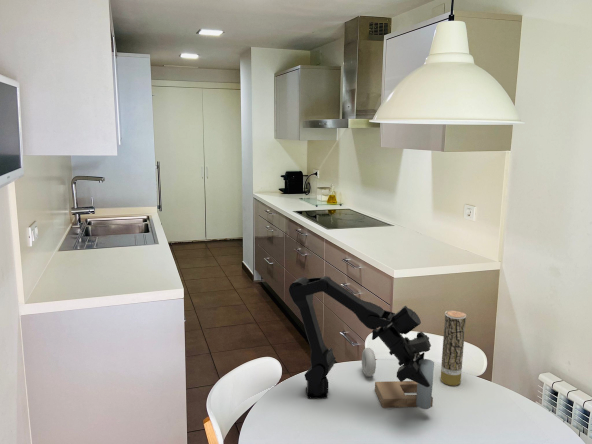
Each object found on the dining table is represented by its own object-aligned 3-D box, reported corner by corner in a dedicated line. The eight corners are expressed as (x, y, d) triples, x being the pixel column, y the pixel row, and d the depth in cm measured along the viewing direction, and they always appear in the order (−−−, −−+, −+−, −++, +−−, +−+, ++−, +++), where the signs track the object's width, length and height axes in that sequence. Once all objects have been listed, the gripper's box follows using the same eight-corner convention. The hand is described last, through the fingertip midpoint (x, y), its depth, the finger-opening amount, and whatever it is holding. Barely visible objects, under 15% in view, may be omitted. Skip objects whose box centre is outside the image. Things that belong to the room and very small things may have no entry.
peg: (418, 409, 148) (421, 365, 146) (414, 401, 152) (417, 359, 150) (432, 408, 148) (436, 365, 146) (428, 401, 153) (431, 358, 150)
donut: (376, 381, 172) (377, 354, 170) (366, 382, 172) (367, 355, 170) (369, 368, 182) (370, 342, 180) (360, 368, 182) (361, 343, 180)
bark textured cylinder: (461, 387, 169) (467, 318, 165) (441, 385, 170) (446, 316, 166) (459, 378, 176) (464, 311, 171) (439, 376, 177) (444, 309, 173)
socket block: (382, 407, 156) (383, 399, 155) (374, 389, 167) (375, 381, 166) (432, 406, 157) (432, 397, 156) (421, 388, 168) (421, 380, 167)
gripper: (410, 339, 139) (448, 383, 137) (419, 317, 156) (453, 356, 154) (381, 360, 143) (417, 403, 141) (393, 336, 160) (425, 374, 158)
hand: (429, 382), depth 149 cm, fingers closed on peg, 4 cm apart
